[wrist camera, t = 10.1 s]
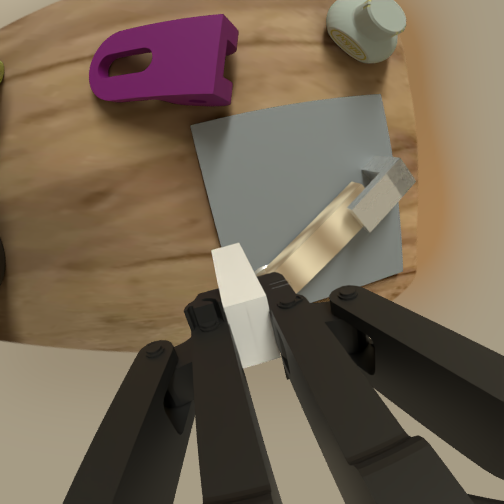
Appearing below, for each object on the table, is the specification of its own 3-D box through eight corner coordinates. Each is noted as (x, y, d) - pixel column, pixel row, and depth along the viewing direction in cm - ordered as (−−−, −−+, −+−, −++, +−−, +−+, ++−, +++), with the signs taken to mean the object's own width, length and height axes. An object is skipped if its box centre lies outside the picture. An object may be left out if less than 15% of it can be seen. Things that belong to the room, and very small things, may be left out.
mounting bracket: (123, 109, 42) (239, 107, 37) (84, 103, 34) (213, 94, 29) (131, 51, 39) (247, 39, 34) (95, 37, 31) (223, 13, 27)
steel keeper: (347, 221, 44) (370, 232, 38) (330, 201, 43) (351, 210, 37) (389, 176, 44) (416, 181, 37) (374, 155, 42) (400, 157, 36)
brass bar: (268, 307, 46) (273, 317, 43) (244, 286, 44) (247, 295, 41) (370, 206, 44) (381, 209, 41) (350, 180, 42) (360, 182, 39)
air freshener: (391, 44, 39) (430, 28, 29) (366, 75, 40) (405, 62, 31) (340, -4, 35) (370, -30, 26) (310, 26, 37) (338, -1, 27)
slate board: (241, 318, 48) (242, 323, 46) (190, 126, 39) (190, 125, 37) (398, 268, 50) (402, 271, 49) (375, 95, 41) (380, 93, 40)
